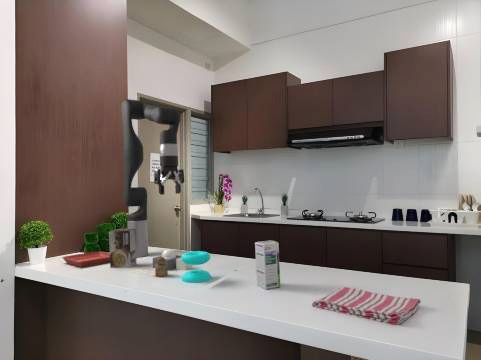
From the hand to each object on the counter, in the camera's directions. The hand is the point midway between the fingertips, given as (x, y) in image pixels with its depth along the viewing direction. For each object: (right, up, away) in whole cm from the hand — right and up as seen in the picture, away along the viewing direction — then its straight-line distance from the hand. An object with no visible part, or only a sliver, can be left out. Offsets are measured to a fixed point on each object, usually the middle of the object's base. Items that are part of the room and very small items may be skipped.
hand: (170, 194), depth 154 cm
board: (-1, -30, -11) cm, 32 cm away
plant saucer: (-39, -32, +13) cm, 52 cm away
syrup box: (+39, -29, -35) cm, 59 cm away
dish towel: (+63, -28, -57) cm, 89 cm away
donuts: (+14, -30, -27) cm, 42 cm away
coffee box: (-19, -31, -2) cm, 36 cm away
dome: (+1, -28, -7) cm, 29 cm away
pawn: (+1, -29, -21) cm, 36 cm away
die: (+7, -29, -11) cm, 32 cm away
